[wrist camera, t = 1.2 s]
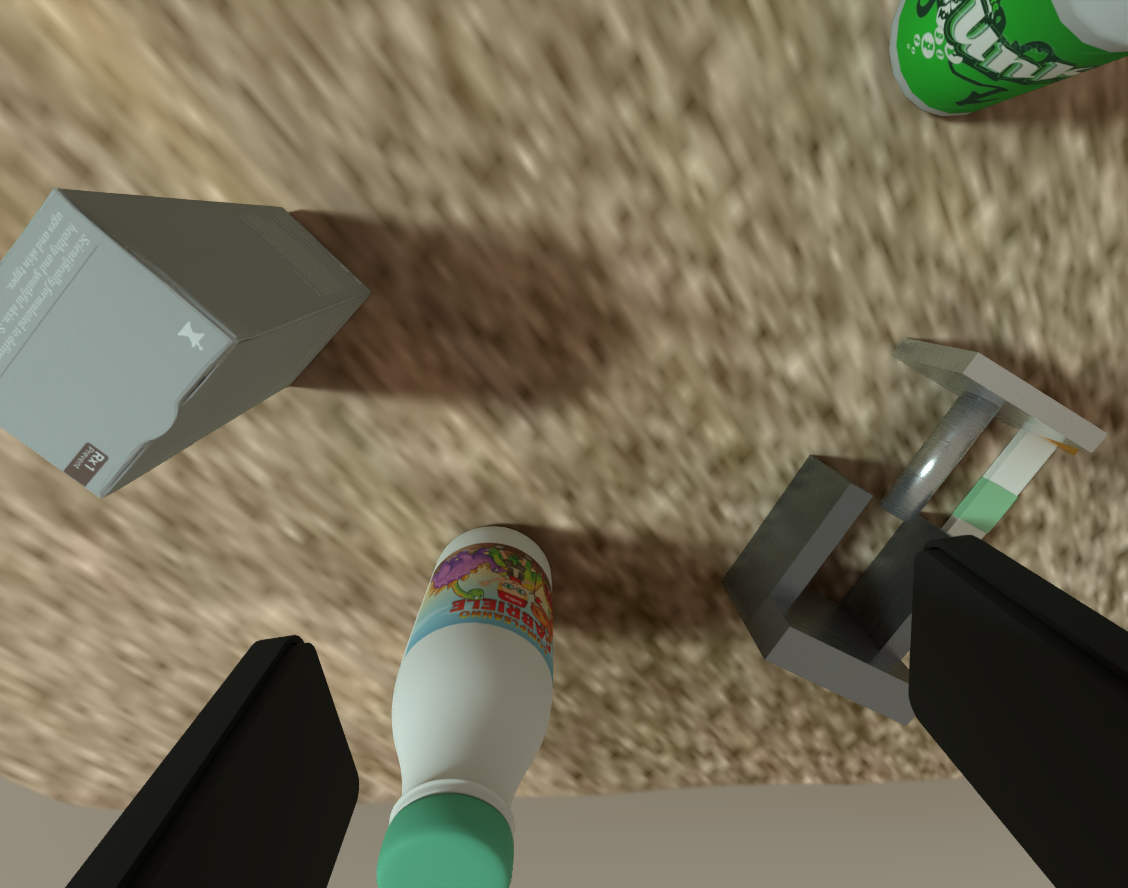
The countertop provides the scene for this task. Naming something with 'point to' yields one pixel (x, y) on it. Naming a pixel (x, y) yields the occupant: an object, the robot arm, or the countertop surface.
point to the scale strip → (1000, 485)
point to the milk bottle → (470, 712)
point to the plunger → (976, 419)
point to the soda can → (999, 47)
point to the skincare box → (155, 325)
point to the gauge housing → (816, 623)
